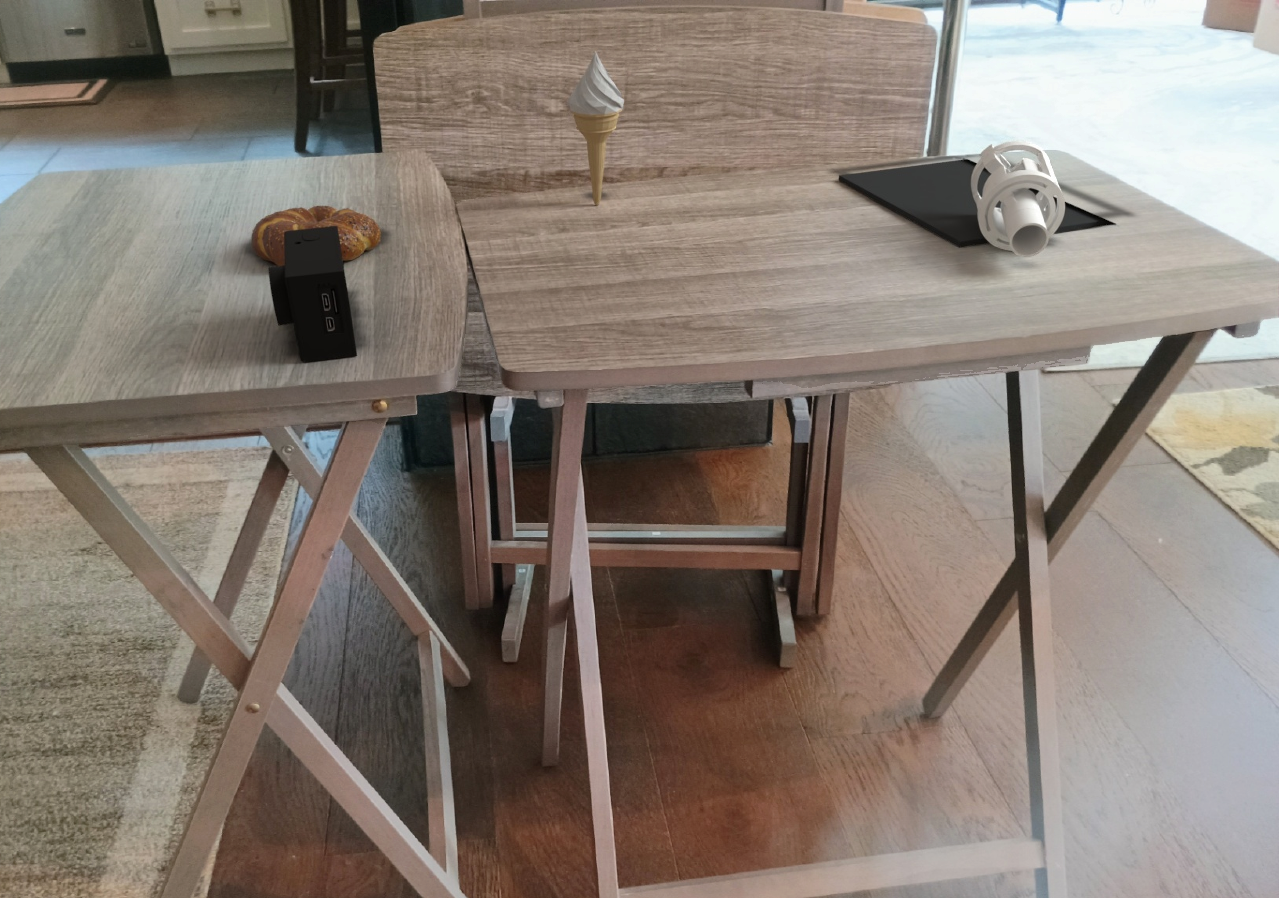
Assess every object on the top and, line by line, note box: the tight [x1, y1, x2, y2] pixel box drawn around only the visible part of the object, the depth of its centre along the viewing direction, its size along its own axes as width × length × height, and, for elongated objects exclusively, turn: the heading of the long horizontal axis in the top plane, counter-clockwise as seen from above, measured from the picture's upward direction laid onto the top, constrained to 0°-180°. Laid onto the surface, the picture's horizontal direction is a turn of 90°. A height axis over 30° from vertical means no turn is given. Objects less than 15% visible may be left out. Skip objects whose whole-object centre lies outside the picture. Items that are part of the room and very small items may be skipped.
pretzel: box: [250, 205, 382, 266], centre depth 97 cm, size 12×11×4 cm
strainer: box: [971, 140, 1066, 258], centre depth 93 cm, size 7×7×15 cm
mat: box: [837, 158, 1117, 248], centre depth 105 cm, size 22×18×1 cm
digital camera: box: [268, 226, 358, 363], centre depth 81 cm, size 10×5×7 cm, turn 13°
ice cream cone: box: [567, 50, 625, 206], centre depth 103 cm, size 6×6×15 cm
